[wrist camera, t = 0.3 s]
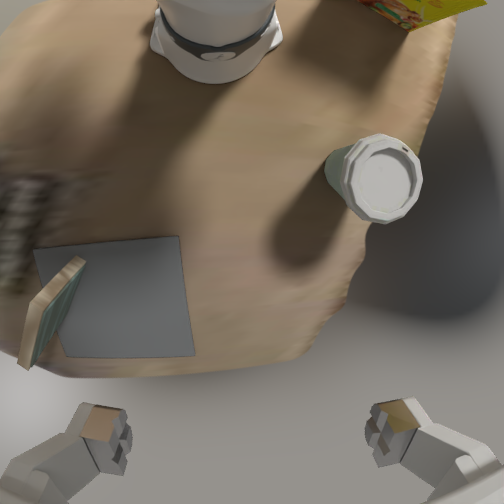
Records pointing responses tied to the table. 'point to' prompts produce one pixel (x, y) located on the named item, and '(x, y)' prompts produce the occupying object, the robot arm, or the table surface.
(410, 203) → the disposable coffee cup
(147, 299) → the charcoal mat
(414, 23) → the food package
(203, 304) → the table surface
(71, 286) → the ash tile
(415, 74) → the table surface
